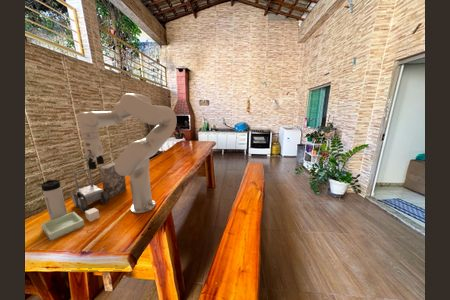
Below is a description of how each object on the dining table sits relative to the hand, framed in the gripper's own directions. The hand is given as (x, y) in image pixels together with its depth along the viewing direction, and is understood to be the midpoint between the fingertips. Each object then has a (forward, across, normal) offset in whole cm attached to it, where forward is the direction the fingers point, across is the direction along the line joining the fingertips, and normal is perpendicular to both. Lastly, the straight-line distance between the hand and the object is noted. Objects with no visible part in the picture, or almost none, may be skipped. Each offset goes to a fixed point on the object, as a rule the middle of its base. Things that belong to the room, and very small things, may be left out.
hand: (97, 166), depth 94 cm
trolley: (+23, +1, +7) cm, 24 cm away
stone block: (+23, +13, -2) cm, 26 cm away
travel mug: (+23, -10, +16) cm, 30 cm away
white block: (+23, -14, 0) cm, 27 cm away
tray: (+23, -19, +10) cm, 31 cm away
